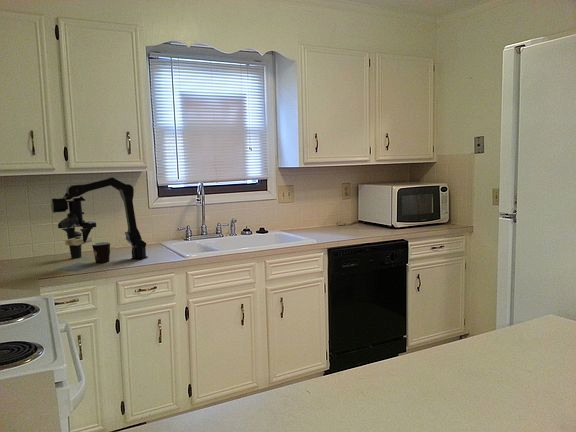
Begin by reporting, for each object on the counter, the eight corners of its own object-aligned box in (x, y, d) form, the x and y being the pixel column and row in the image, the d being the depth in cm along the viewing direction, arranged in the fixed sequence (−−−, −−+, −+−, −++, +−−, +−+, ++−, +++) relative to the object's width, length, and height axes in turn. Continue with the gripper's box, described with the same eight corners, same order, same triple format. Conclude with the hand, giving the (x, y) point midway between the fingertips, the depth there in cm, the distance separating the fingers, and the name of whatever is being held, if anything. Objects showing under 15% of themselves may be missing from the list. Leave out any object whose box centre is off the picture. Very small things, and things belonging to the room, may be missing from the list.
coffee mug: (93, 262, 246) (91, 243, 245) (111, 260, 249) (109, 241, 248) (94, 266, 235) (92, 246, 234) (112, 264, 239) (111, 244, 238)
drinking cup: (69, 257, 260) (66, 221, 257) (84, 256, 262) (81, 220, 260) (68, 260, 253) (64, 223, 250) (83, 259, 255) (80, 222, 253)
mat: (100, 264, 239) (100, 263, 239) (77, 271, 224) (77, 271, 224) (77, 263, 244) (77, 262, 244) (53, 270, 229) (53, 269, 229)
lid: (91, 241, 237) (91, 234, 237) (77, 245, 228) (76, 238, 227) (80, 241, 239) (79, 234, 239) (65, 245, 230) (64, 238, 230)
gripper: (47, 212, 227) (50, 244, 229) (79, 212, 221) (82, 245, 223) (65, 210, 237) (68, 240, 239) (95, 209, 232) (98, 241, 233)
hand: (78, 242), depth 234 cm, fingers closed on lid, 7 cm apart
